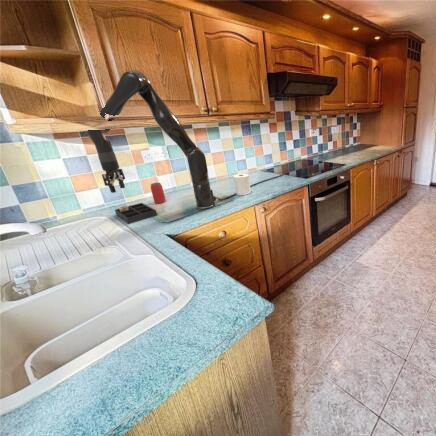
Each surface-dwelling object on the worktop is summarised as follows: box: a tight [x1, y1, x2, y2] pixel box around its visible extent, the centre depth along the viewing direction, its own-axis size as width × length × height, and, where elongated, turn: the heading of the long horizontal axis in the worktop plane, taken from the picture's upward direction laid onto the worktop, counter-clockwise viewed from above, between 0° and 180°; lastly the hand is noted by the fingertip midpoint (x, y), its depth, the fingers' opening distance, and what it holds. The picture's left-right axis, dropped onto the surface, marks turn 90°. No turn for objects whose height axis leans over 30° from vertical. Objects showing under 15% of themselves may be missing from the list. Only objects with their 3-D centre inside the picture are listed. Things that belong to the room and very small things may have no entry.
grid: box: [114, 202, 158, 225], centre depth 144 cm, size 14×21×3 cm
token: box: [118, 205, 129, 212], centre depth 146 cm, size 4×4×4 cm
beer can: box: [150, 182, 166, 204], centre depth 162 cm, size 7×7×12 cm
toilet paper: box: [233, 173, 252, 196], centre depth 171 cm, size 10×10×12 cm
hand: (118, 190), depth 142 cm, fingers open, 8 cm apart
